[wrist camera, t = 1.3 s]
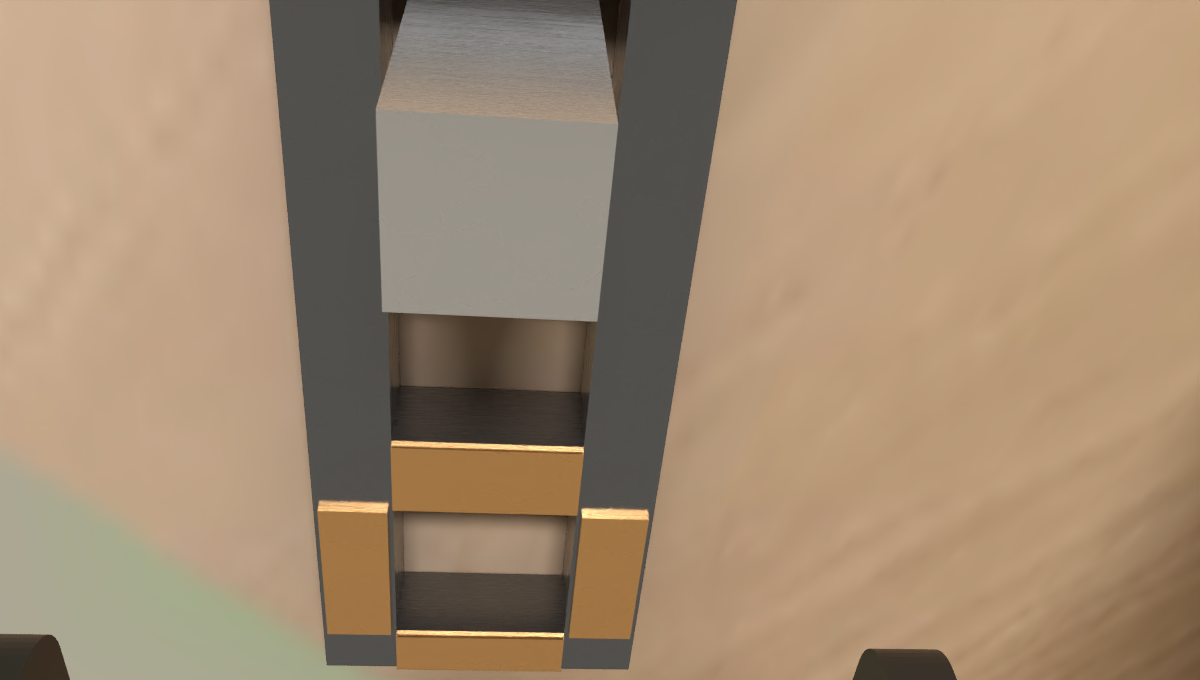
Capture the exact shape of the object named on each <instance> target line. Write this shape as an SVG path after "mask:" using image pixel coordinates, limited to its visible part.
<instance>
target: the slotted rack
mask: <svg viewBox="0 0 1200 680" xmlns="http://www.w3.org/2000/svg"><path fill="white" fill-rule="evenodd" d="M269 3H270V14H271V26H272V37H273V49H274V60H275V72H276V83H277V95H278V107H279V118H280V130H281V141H282V153H283V164H284V176H285V187H286V199H287V211H288V222H289V234H290V245H291V257H292V268H293V280H294V291H295V303H296V315H297V326H298V338H299V349H300V361H301V372H302V384H303V395H304V407H305V419H306V430H307V442H308V453H309V465H310V476H311V488H312V499H313V511H314V523H315V534H316V546H317V557H318V569H319V580H320V592H321V603H322V615H323V627H324V638H325V650H326V661H327V665H348V666H397V669H416V670H489V671H561V668H563V669H628V668H629V662H630V656H631V650H632V644H633V637H634V631H635V625H636V619H637V613H638V607H639V600H640V594H641V588H642V582H643V576H644V570H645V564H646V557H647V551H648V545H649V539H650V533H651V527H652V520H653V514H654V508H655V502H656V496H657V490H658V484H659V477H660V471H661V465H662V459H663V453H664V447H665V440H666V434H667V428H668V422H669V416H670V410H671V403H672V397H673V391H674V385H675V379H676V373H677V367H678V360H679V354H680V348H681V342H682V336H683V330H684V323H685V317H686V311H687V305H688V299H689V293H690V287H691V280H692V274H693V268H694V262H695V256H696V250H697V243H698V237H699V231H700V225H701V219H702V213H703V207H704V200H705V194H706V188H707V182H708V176H709V170H710V163H711V157H712V151H713V145H714V139H715V133H716V126H717V120H718V114H719V108H720V102H721V96H722V90H723V83H724V77H725V71H726V65H727V59H728V53H729V46H730V40H731V34H732V28H733V22H734V16H735V10H736V3H737V0H620V3H619V13H618V23H617V33H616V43H615V53H614V63H613V73H612V88H613V94H614V101H615V107H616V113H617V120H618V131H617V141H616V150H615V160H614V169H613V178H612V188H611V197H610V207H609V216H608V225H607V235H606V244H605V254H604V263H603V272H602V282H601V291H600V301H599V310H598V319H597V322H593V321H588V323H587V333H586V343H585V353H584V363H583V373H582V383H581V393H574V392H548V391H521V390H495V389H469V388H443V387H417V386H400V361H399V314H398V313H394V312H382V292H381V261H380V229H379V198H378V166H377V135H376V107H377V103H378V100H379V96H380V93H381V89H382V86H383V83H384V79H385V76H386V72H387V69H388V65H389V62H390V59H391V55H392V52H393V33H392V0H269ZM403 511H424V512H460V513H497V514H534V515H568V523H567V533H566V543H565V553H564V563H563V573H562V575H529V574H483V573H438V572H404V549H403Z"/></svg>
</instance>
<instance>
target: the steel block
mask: <svg viewBox="0 0 1200 680" xmlns="http://www.w3.org/2000/svg"><path fill="white" fill-rule="evenodd" d="M617 131H618V120H617V113H616V107H615V101H614V94H613V88H612V81H611V75H610V69H609V62H608V56H607V49H606V43H605V37H604V30H603V24H602V17H601V11H600V5H599V0H407V4H406V7H405V11H404V14H403V18H402V21H401V24H400V28H399V31H398V35H397V38H396V41H395V45H394V48H393V52H392V55H391V59H390V62H389V65H388V69H387V72H386V76H385V79H384V83H383V86H382V89H381V93H380V96H379V100H378V103H377V107H376V135H377V166H378V198H379V229H380V261H381V292H382V312H394V313H416V314H438V315H460V316H482V317H504V318H527V319H549V320H571V321H593V322H597V319H598V310H599V301H600V291H601V282H602V272H603V263H604V254H605V244H606V235H607V225H608V216H609V207H610V197H611V188H612V178H613V169H614V160H615V150H616V141H617Z"/></svg>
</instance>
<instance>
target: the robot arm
mask: <svg viewBox="0 0 1200 680" xmlns="http://www.w3.org/2000/svg"><path fill="white" fill-rule="evenodd" d="M0 680H70V678H69V675H68V672H67V669H66V666H65V662H64V658H63V655H62V652H61V649H60V646H59V643H58V641H57V640H56V638H55V637H54V636H52V635H33V634H0ZM853 680H957V679H956V676H955V674H954V671H953V669H952V666H951V664H950V662H949V661H948V659H947V657H946V656H945V655H944V654H943V653H942V652H941V651H939V650H928V649H867V650H865V651H864V653H863V654H862V656H861V658H860V660H859V663H858V666H857V669H856V672H855V675H854V677H853Z"/></svg>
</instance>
